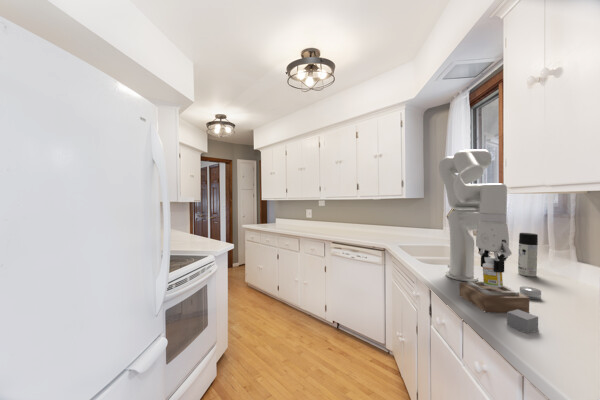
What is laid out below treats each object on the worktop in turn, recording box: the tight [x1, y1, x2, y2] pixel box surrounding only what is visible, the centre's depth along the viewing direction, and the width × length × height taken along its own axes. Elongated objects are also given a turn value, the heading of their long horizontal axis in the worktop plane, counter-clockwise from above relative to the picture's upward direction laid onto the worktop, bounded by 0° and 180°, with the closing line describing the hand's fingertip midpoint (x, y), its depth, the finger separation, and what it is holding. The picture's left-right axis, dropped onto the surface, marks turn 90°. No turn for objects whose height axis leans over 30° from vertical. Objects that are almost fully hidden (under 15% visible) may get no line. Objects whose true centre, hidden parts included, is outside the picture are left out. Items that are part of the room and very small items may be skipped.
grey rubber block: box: [506, 309, 539, 334], centre depth 73 cm, size 5×5×4 cm
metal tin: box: [519, 286, 542, 301], centre depth 95 cm, size 6×6×3 cm
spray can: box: [517, 232, 539, 278], centre depth 120 cm, size 7×7×20 cm
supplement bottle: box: [482, 256, 504, 287], centre depth 88 cm, size 5×5×10 cm
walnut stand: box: [458, 281, 530, 314], centre depth 89 cm, size 14×14×6 cm
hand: (492, 268), depth 89 cm, fingers closed on supplement bottle, 5 cm apart
